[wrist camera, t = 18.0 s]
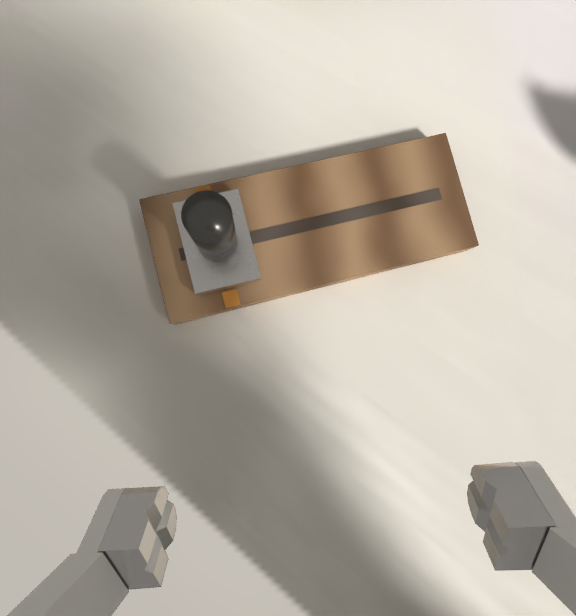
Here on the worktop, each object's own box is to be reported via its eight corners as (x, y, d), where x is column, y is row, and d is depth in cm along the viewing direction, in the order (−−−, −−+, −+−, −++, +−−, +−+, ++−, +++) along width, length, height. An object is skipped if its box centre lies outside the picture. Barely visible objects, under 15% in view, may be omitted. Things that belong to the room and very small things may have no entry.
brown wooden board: (434, 144, 34) (446, 132, 32) (465, 250, 34) (479, 244, 32) (146, 208, 32) (138, 198, 30) (175, 324, 31) (169, 323, 29)
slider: (238, 194, 30) (233, 150, 23) (260, 280, 30) (262, 261, 23) (175, 208, 29) (150, 167, 22) (197, 295, 29) (178, 281, 22)
